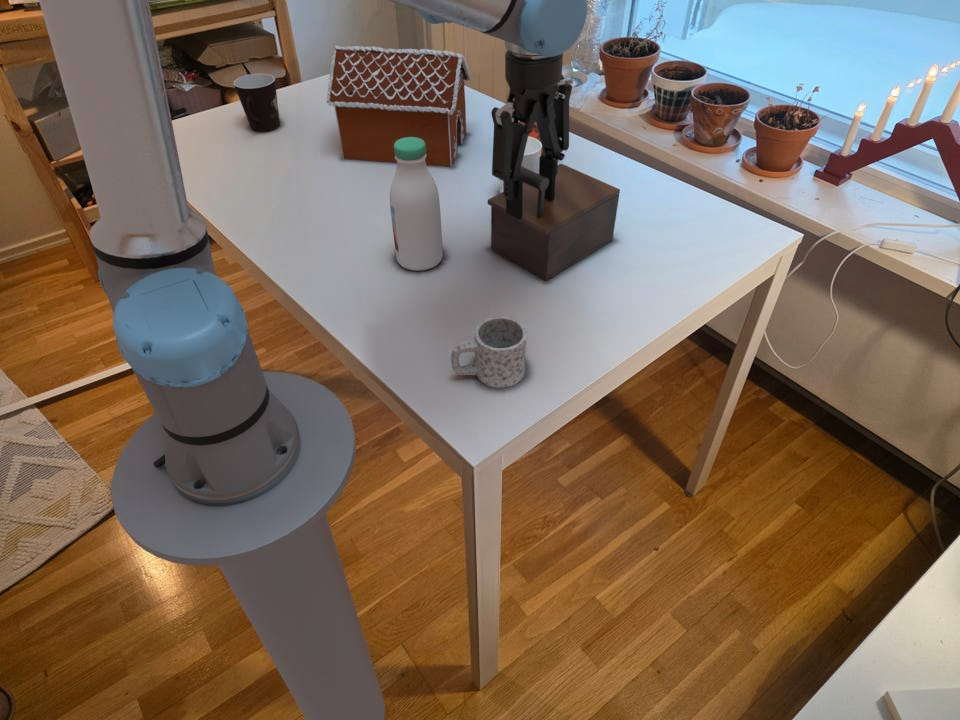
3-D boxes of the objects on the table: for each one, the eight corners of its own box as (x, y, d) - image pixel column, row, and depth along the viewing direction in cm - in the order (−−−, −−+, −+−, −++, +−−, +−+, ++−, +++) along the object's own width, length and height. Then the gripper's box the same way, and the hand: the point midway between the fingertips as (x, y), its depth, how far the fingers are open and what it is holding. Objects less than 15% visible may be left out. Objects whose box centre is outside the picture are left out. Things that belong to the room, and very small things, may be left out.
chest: (546, 281, 102) (549, 233, 96) (491, 249, 109) (491, 202, 103) (612, 240, 110) (619, 194, 104) (557, 213, 117) (560, 167, 111)
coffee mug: (262, 115, 150) (252, 71, 143) (292, 122, 147) (283, 77, 140) (228, 135, 142) (215, 89, 135) (259, 142, 140) (247, 96, 133)
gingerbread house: (457, 171, 129) (453, 67, 115) (333, 161, 133) (315, 59, 119) (474, 131, 142) (472, 34, 129) (361, 124, 146) (347, 28, 132)
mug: (516, 349, 90) (517, 312, 86) (531, 382, 86) (533, 345, 81) (446, 363, 89) (444, 326, 84) (458, 397, 84) (456, 359, 79)
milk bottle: (452, 254, 108) (446, 138, 94) (424, 277, 103) (414, 159, 89) (415, 240, 111) (405, 127, 97) (386, 262, 106) (371, 146, 93)
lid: (546, 235, 96) (549, 190, 91) (487, 204, 102) (487, 160, 97) (619, 193, 104) (626, 150, 99) (560, 167, 111) (564, 126, 106)
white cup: (547, 195, 122) (551, 144, 115) (518, 211, 118) (520, 159, 111) (517, 181, 126) (518, 131, 119) (488, 195, 122) (488, 145, 115)
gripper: (500, 78, 77) (502, 241, 93) (604, 36, 86) (590, 191, 102) (458, 63, 81) (467, 221, 97) (562, 24, 90) (554, 175, 106)
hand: (530, 206), depth 100 cm, fingers open, 6 cm apart
